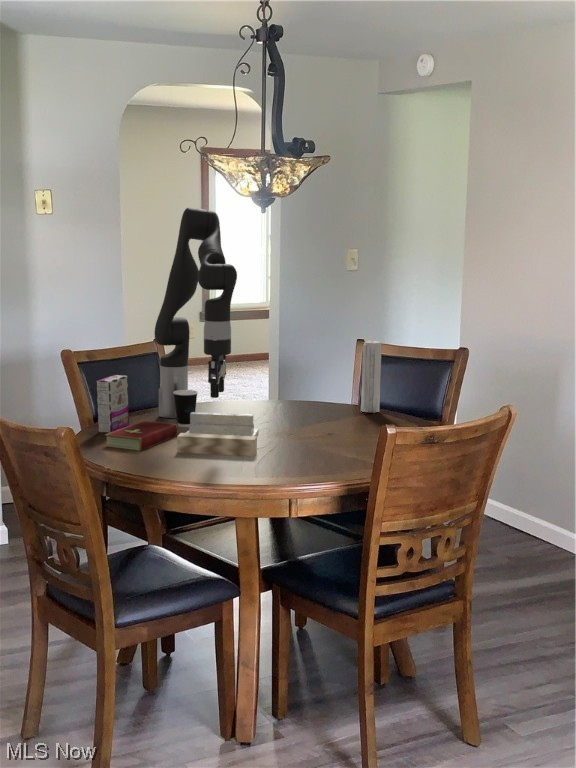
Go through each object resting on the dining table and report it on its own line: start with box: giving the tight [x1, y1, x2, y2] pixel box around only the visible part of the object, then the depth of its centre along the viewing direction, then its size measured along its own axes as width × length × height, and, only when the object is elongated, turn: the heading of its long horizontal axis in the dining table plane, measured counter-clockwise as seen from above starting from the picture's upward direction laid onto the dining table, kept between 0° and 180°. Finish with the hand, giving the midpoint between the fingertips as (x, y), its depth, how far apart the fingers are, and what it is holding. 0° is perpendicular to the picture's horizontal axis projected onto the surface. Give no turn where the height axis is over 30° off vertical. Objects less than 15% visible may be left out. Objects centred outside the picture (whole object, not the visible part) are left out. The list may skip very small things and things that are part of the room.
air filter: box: [360, 340, 382, 413], centre depth 294 cm, size 6×6×25 cm
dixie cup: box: [173, 389, 199, 428], centre depth 269 cm, size 8×8×11 cm
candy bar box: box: [96, 374, 130, 434], centre depth 262 cm, size 11×5×16 cm, turn 161°
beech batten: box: [176, 432, 258, 457], centre depth 237 cm, size 22×4×5 cm, turn 82°
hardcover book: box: [104, 420, 178, 452], centre depth 249 cm, size 12×21×4 cm, turn 158°
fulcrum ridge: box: [185, 411, 259, 437], centre depth 256 cm, size 21×12×7 cm, turn 85°
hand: (217, 394), depth 235 cm, fingers open, 8 cm apart
